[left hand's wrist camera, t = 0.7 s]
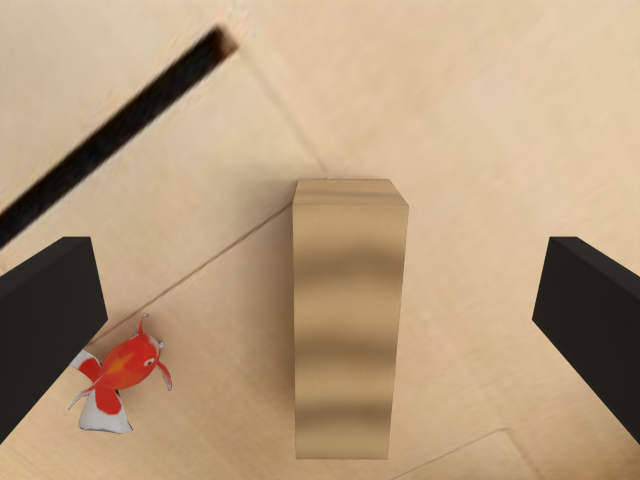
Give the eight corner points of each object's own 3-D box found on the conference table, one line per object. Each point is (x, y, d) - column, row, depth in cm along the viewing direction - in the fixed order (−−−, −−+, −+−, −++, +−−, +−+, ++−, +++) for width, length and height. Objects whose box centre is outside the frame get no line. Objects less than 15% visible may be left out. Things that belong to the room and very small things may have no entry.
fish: (220, 399, 42) (131, 464, 34) (138, 410, 51) (52, 464, 43) (180, 299, 42) (81, 340, 34) (105, 328, 51) (12, 366, 43)
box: (298, 178, 39) (292, 204, 31) (390, 179, 39) (409, 205, 31) (299, 393, 48) (295, 459, 39) (375, 393, 48) (387, 459, 39)
